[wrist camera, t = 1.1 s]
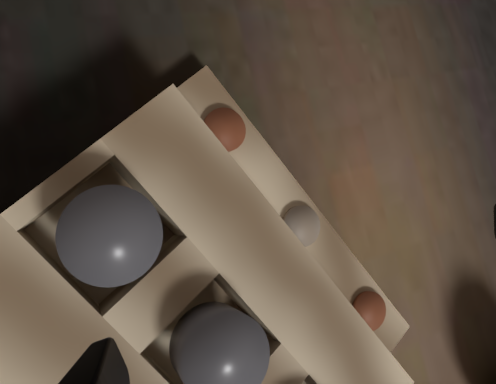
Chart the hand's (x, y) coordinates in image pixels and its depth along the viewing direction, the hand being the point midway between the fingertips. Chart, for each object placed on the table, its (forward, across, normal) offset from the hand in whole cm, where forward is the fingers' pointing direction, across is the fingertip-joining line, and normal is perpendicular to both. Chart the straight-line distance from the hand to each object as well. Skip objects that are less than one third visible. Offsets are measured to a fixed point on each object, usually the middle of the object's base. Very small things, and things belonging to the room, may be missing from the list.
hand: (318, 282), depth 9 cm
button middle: (+7, +3, +7) cm, 10 cm away
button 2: (+9, +6, +1) cm, 10 cm away
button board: (+11, +3, +7) cm, 13 cm away
